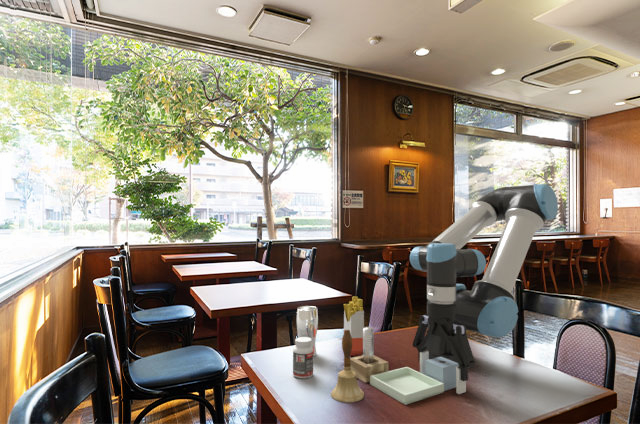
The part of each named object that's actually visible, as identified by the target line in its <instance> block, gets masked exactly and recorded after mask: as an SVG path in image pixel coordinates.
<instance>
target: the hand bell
mask: <svg viewBox="0 0 640 424" xmlns="http://www.w3.org/2000/svg"><path fill="white" fill-rule="evenodd" d="M341 348H342V352H343V369H342V370H341V371H339V372H338V375H337V376H338V377H337V382H336V385H335V387H334V388H333V389H332V391H331V393H330V397H331V398H332V399H333V400H335V401H337V402H340V403H341V402H342V403H345V404H346V403H350V404H351V403H356V402H359V401H361V400H363V399H364V397H365V393H364V390H362V389H361V387H360V385H359V383H358V380H357V379H358V378H357V377H356V373H355V372H354V371H352V370H351V367H350V366H351V364H350V358H351V356H350V354H351V351H352V337H351V334H350V330H345V331H344V330H343V335H342V339H341Z"/></svg>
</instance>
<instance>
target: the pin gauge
mask: <svg viewBox="0 0 640 424" xmlns="http://www.w3.org/2000/svg"><path fill="white" fill-rule="evenodd" d="M374 333H375V331H374V327H372V326H364V327H363V353H362V355H363V363H365V364H371V363H374V356H375V353H374V350H375V349H374V348H375V346H374V344H375V343H374V338H375V337H374V336H375V335H374Z"/></svg>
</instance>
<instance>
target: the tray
mask: <svg viewBox="0 0 640 424" xmlns="http://www.w3.org/2000/svg"><path fill="white" fill-rule="evenodd" d="M369 385H370V386H372V387H374V388H376V389H377V390H379V391H381V392H382V393H384V394H385V395H387V396H389V397H391V398H393V399H395V400H396V401H398V402H400V403H401V404H403V405H404V406H406V405H409V404H412V403H416V402H419V401H422V400H425V399H428V398H431V397H435V396H437V395H440V394H443V393H445V391H444V383H442V382H439V381H437V380H435V379H433V378H431V377H429V376H426V375H424V374H422V373H420V371H417V370H415V369H413V368H411V367H409V366H405V367H401V368H396V369H392V370H389V371H388V372H384V373H380V374H376V375H372V376H370V382H369Z"/></svg>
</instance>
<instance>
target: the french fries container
mask: <svg viewBox="0 0 640 424" xmlns="http://www.w3.org/2000/svg"><path fill="white" fill-rule="evenodd" d="M363 302H364V301H363V299H361V298H359V297H358V296H352V298H351V301H348V303H343V310H344V311H343V313H344V314H343V332H344V331H345V330H350V334H351V337H352V351H351V354H350V357H351V356H353V357H357V356H362V355H363V327H365V311H364V307H363Z"/></svg>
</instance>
